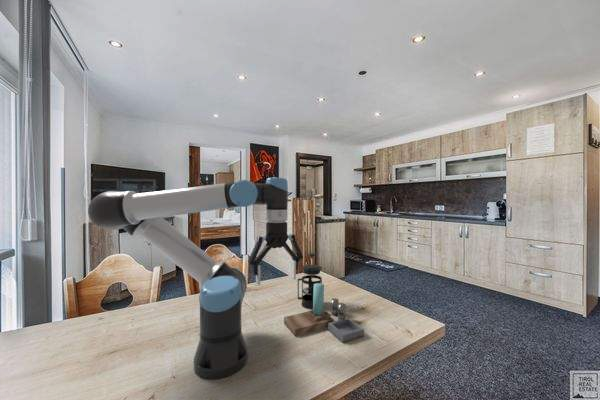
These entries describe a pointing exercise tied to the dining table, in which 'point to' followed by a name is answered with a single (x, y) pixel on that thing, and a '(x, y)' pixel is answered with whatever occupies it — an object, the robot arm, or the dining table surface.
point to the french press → (312, 273)
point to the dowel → (318, 299)
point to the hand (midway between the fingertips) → (276, 281)
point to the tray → (345, 330)
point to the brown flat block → (307, 322)
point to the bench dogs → (338, 309)
